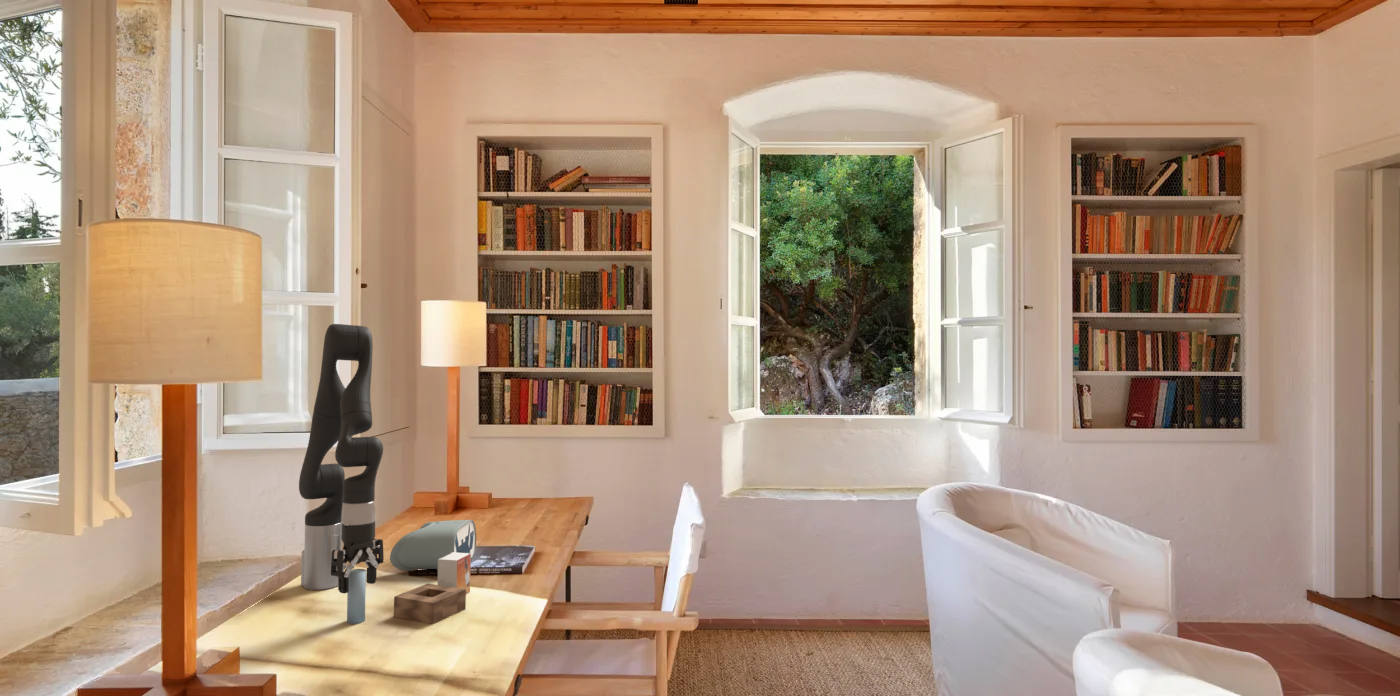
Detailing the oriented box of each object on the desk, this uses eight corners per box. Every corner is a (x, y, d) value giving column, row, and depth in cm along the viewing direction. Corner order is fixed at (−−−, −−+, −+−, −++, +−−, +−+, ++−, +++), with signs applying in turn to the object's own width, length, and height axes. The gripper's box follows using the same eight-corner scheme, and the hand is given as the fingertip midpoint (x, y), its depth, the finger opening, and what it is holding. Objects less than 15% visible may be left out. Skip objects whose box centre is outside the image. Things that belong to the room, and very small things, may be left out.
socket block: (393, 616, 195) (394, 596, 195) (427, 602, 206) (427, 583, 206) (433, 623, 191) (433, 603, 191) (465, 609, 202) (465, 589, 202)
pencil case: (454, 576, 230) (453, 531, 230) (389, 577, 231) (387, 533, 231) (477, 556, 252) (475, 515, 252) (417, 558, 253) (416, 517, 253)
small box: (456, 600, 209) (456, 560, 209) (436, 599, 210) (437, 559, 210) (470, 591, 217) (471, 553, 217) (451, 590, 218) (452, 551, 218)
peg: (343, 622, 191) (344, 572, 191) (355, 617, 195) (356, 568, 195) (356, 624, 189) (356, 574, 189) (368, 619, 193) (369, 570, 193)
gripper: (368, 513, 200) (367, 578, 200) (322, 524, 187) (321, 594, 187) (392, 516, 197) (391, 582, 197) (347, 527, 184) (346, 598, 184)
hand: (357, 587), depth 192 cm, fingers open, 8 cm apart
